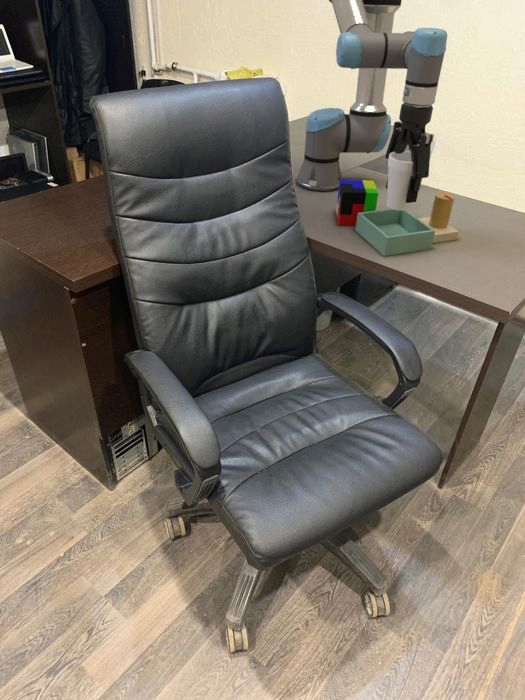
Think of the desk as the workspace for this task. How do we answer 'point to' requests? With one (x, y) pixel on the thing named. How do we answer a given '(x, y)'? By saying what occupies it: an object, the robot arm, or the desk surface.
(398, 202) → the foam cup
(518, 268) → the desk surface
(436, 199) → the tap handle
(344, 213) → the puzzle toy
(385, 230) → the basin
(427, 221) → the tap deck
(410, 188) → the robot arm
